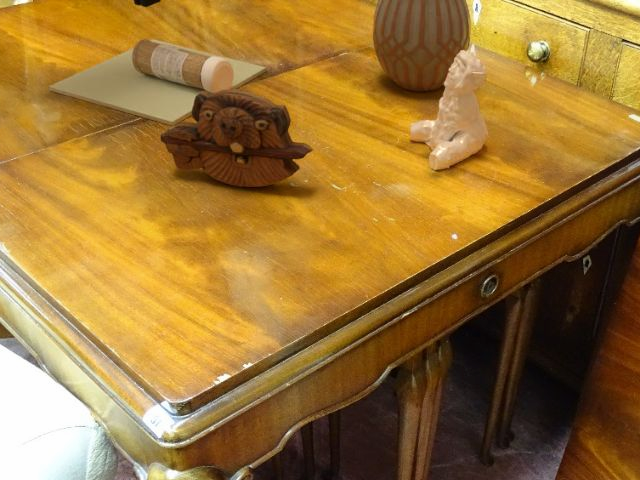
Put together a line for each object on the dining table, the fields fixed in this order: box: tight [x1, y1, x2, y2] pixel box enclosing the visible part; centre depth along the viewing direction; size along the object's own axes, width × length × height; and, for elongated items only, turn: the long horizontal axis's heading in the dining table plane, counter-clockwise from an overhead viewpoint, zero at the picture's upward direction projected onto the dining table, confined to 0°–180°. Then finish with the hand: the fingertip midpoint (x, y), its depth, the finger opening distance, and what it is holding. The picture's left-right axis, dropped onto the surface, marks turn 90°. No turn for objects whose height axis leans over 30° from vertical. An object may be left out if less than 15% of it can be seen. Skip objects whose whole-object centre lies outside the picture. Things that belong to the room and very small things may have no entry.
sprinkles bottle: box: [132, 38, 234, 93], centre depth 101 cm, size 5×5×13 cm
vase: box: [372, 0, 472, 92], centre depth 102 cm, size 13×13×18 cm
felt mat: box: [48, 39, 268, 127], centre depth 104 cm, size 20×20×1 cm
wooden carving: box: [160, 88, 314, 188], centre depth 82 cm, size 16×5×10 cm, turn 82°
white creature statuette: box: [409, 49, 490, 171], centre depth 89 cm, size 10×9×12 cm
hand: (148, 2), depth 98 cm, fingers closed
